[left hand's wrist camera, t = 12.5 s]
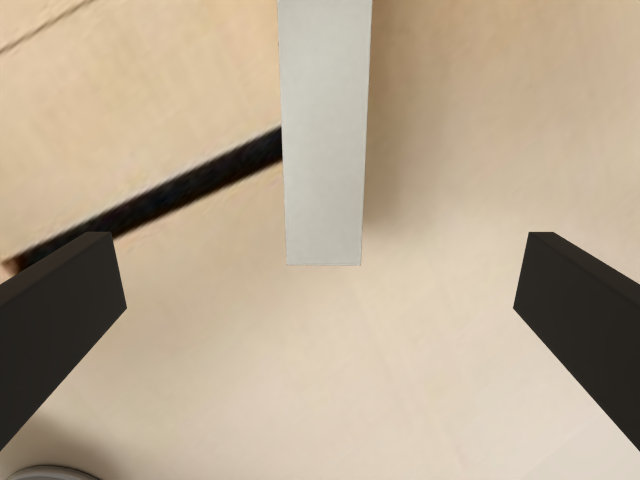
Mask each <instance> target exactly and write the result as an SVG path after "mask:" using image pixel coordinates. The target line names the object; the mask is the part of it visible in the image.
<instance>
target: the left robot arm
mask: <svg viewBox="0 0 640 480" xmlns="http://www.w3.org/2000/svg"><path fill="white" fill-rule="evenodd" d="M126 309H127V306H126V301H125V296H124V292H123V287H122V282H121V277H120V272H119V268H118V263H117V258H116V253H115V249H114V244H113V239H112V234H111V232H86V233H84V234H83V235H81V236H79V237H78V238H76V239H74V240H73V241H71V242H69V243H68V244H66V245H64V246H63V247H61V248H60V249H58V250H56V251H55V252H53V253H51V254H50V255H48V256H46V257H45V258H43V259H41V260H40V261H38V262H37V263H35V264H33V265H32V266H30V267H28V268H27V269H25V270H23V271H22V272H20V273H18V274H17V275H15V276H14V277H12V278H10V279H9V280H7V281H5V282H4V283H2V284H0V451H1V450H2V449H3V448H4V447H5V445H6V444H7V443H8V442H9V441H10V440H11V439H12V438H13V436H14V435H15V434H16V433H17V432H18V431H19V430H20V429H21V427H22V426H23V425H24V424H25V423H26V422H27V421H28V419H29V418H30V417H31V416H32V415H33V414H34V413H35V412H36V410H37V409H38V408H39V407H40V406H41V405H42V404H43V403H44V401H45V400H46V399H47V398H48V397H49V396H50V395H51V393H52V392H53V391H54V390H55V389H56V388H57V387H58V386H59V384H60V383H61V382H62V381H63V380H64V379H65V378H66V377H67V375H68V374H69V373H70V372H71V371H72V370H73V369H74V367H75V366H76V365H77V364H78V363H79V362H80V361H81V360H82V358H83V357H84V356H85V355H86V354H87V353H88V352H89V351H90V349H91V348H92V347H93V346H94V345H95V344H96V343H97V342H98V340H99V339H100V338H101V337H102V336H103V335H104V334H105V332H106V331H107V330H108V329H109V328H110V327H111V326H112V325H113V323H114V322H115V321H116V320H117V319H118V318H119V317H120V316H121V314H122V313H123V312H124V311H125V310H126ZM513 309H514V310H515V311H516V312H517V313H518V314H519V316H520V317H521V318H522V319H523V320H524V321H525V322H526V323H527V325H528V326H529V327H530V328H531V329H532V330H533V331H534V332H535V334H536V335H537V336H538V337H539V338H540V339H541V340H542V342H543V343H544V344H545V345H546V346H547V347H548V348H549V349H550V351H551V352H552V353H553V354H554V355H555V356H556V357H557V358H558V360H559V361H560V362H561V363H562V364H563V365H564V366H565V367H566V369H567V370H568V371H569V372H570V373H571V374H572V375H573V377H574V378H575V379H576V380H577V381H578V382H579V383H580V384H581V386H582V387H583V388H584V389H585V390H586V391H587V392H588V393H589V395H590V396H591V397H592V398H593V399H594V400H595V401H596V403H597V404H598V405H599V406H600V407H601V408H602V409H603V410H604V412H605V413H606V414H607V415H608V416H609V417H610V418H611V419H612V421H613V422H614V423H615V424H616V425H617V426H618V427H619V429H620V430H621V431H622V432H623V433H624V434H625V435H626V436H627V438H628V439H629V440H630V441H631V442H632V443H633V444H634V445H635V447H636V448H637V449H638V450H639V451H640V284H638V283H636V282H635V281H633V280H631V279H630V278H628V277H626V276H625V275H623V274H622V273H620V272H618V271H617V270H615V269H613V268H612V267H610V266H608V265H607V264H605V263H603V262H602V261H600V260H599V259H597V258H595V257H594V256H592V255H590V254H589V253H587V252H585V251H584V250H582V249H580V248H579V247H577V246H576V245H574V244H572V243H571V242H569V241H567V240H566V239H564V238H562V237H561V236H559V235H557V234H556V233H554V232H529V234H528V239H527V244H526V249H525V253H524V258H523V263H522V268H521V272H520V277H519V282H518V287H517V292H516V296H515V301H514V306H513ZM7 480H98V479H96V478H94V477H92V476H90V475H88V474H85V473H83V472H80V471H77V470H73V469H69V468H64V467H57V466H36V467H30V468H26V469H23V470H20V471H18V472H16V473H14V474H13V475H11V476H10V477H9V478H8V479H7Z"/></svg>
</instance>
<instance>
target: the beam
mask: <svg viewBox="0 0 640 480" xmlns="http://www.w3.org/2000/svg"><path fill="white" fill-rule="evenodd" d="M277 11H278V38H279V66H280V94H281V122H282V149H283V177H284V205H285V233H286V260H287V265H359V266H360V265H361V250H362V227H363V204H364V182H365V159H366V136H367V113H368V90H369V68H370V45H371V22H372V0H277Z"/></svg>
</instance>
